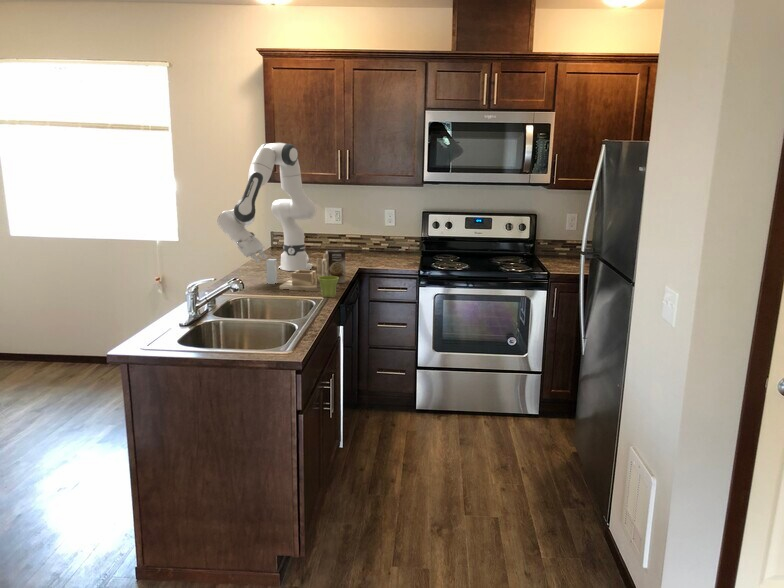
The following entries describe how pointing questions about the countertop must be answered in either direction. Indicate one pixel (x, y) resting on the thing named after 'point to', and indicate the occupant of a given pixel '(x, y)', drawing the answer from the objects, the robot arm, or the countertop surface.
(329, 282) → the plant pot
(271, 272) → the block
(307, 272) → the caddy
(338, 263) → the coffee box
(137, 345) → the countertop surface
